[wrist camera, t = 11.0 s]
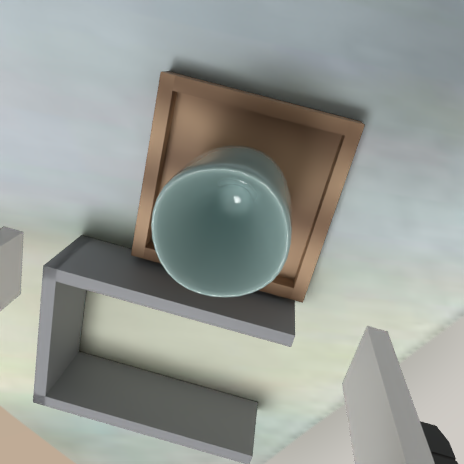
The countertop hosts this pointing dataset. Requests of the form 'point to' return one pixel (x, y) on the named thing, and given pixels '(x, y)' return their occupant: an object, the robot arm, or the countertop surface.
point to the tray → (261, 138)
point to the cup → (224, 222)
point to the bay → (134, 379)
